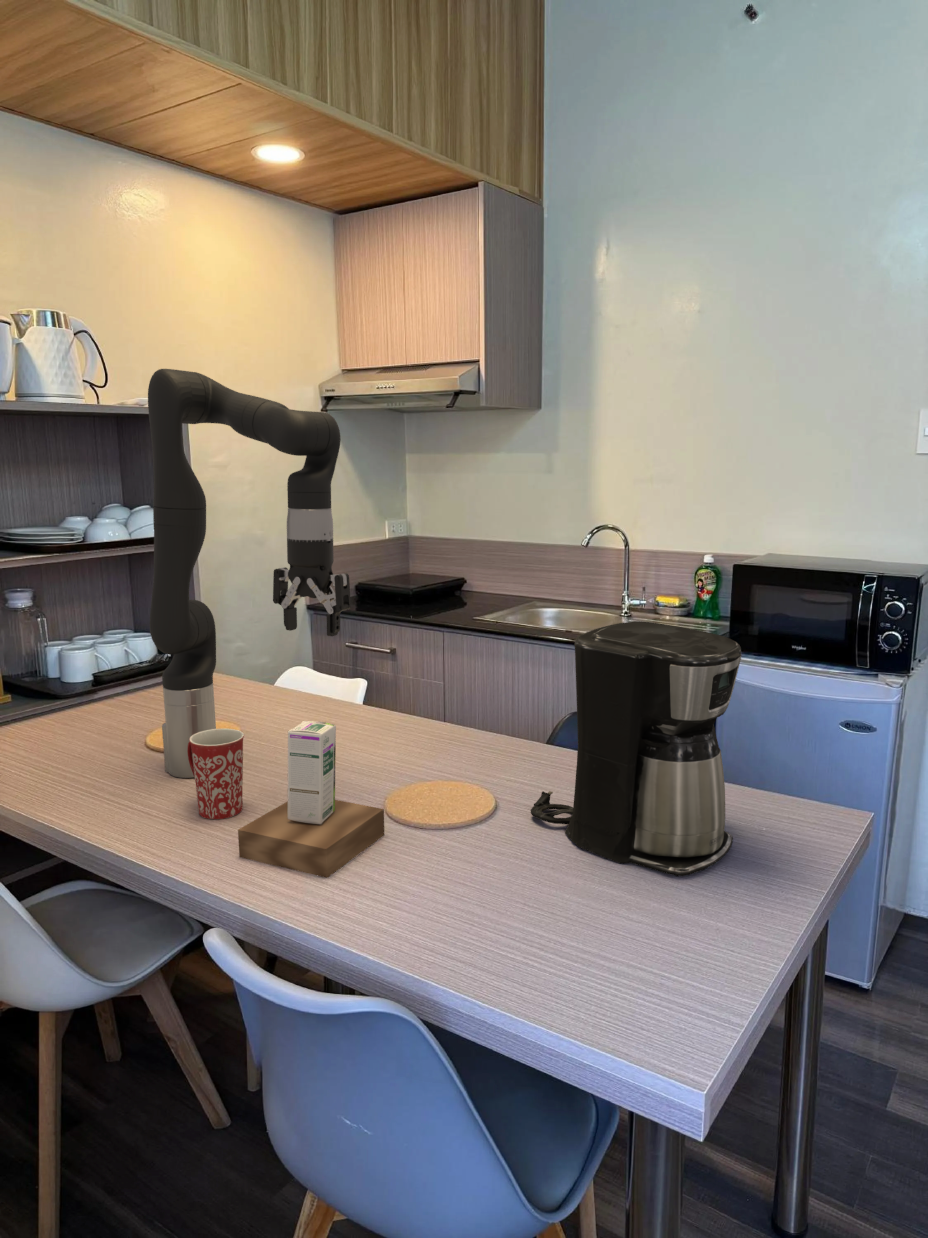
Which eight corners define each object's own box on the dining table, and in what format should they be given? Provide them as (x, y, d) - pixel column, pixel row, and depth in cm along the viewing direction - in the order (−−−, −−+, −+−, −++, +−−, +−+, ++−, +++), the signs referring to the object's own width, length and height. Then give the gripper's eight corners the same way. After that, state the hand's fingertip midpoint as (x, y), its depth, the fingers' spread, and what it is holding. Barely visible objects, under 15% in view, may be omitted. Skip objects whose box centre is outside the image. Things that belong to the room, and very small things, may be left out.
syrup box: (321, 825, 131) (324, 733, 129) (285, 820, 133) (287, 729, 130) (335, 811, 137) (337, 723, 135) (300, 807, 138) (302, 719, 136)
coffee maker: (731, 887, 121) (743, 651, 115) (507, 858, 130) (506, 638, 124) (733, 823, 142) (742, 621, 136) (540, 802, 152) (541, 612, 146)
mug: (259, 810, 149) (254, 735, 147) (212, 826, 143) (207, 748, 140) (218, 792, 157) (214, 720, 155) (173, 807, 151) (167, 732, 148)
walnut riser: (239, 860, 132) (237, 829, 131) (302, 821, 146) (301, 793, 145) (327, 881, 125) (325, 849, 124) (384, 838, 139) (383, 809, 138)
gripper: (261, 535, 142) (263, 631, 145) (332, 540, 135) (333, 641, 138) (290, 531, 148) (292, 624, 151) (359, 536, 142) (359, 633, 145)
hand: (311, 632), depth 145 cm, fingers open, 8 cm apart
